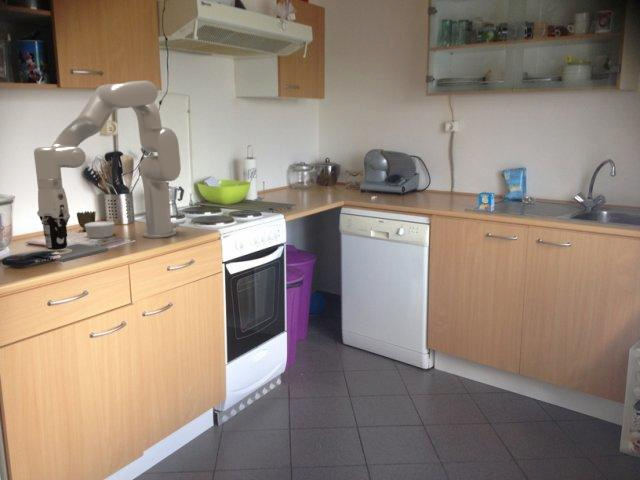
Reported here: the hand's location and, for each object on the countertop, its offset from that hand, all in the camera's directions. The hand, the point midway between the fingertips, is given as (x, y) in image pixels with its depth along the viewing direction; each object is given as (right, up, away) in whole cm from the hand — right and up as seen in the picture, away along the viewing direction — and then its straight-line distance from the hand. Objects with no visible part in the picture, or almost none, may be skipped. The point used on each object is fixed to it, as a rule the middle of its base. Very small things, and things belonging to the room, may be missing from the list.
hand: (55, 236), depth 193 cm
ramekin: (+3, 0, +33) cm, 33 cm away
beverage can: (0, -4, +1) cm, 4 cm away
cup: (-7, +2, +44) cm, 44 cm away
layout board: (+4, -6, +3) cm, 8 cm away
